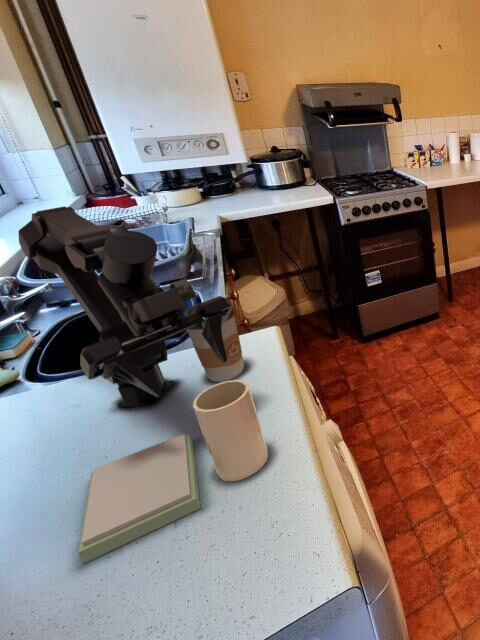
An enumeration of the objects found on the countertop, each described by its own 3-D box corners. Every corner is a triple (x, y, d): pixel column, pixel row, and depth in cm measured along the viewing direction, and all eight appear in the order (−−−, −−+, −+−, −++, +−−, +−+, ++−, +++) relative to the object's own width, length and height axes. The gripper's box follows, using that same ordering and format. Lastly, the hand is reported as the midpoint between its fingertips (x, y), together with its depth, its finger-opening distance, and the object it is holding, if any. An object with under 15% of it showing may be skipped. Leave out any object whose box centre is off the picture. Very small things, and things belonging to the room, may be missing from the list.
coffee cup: (228, 388, 84) (206, 320, 79) (192, 383, 86) (168, 317, 81) (259, 363, 92) (241, 299, 86) (225, 359, 94) (206, 296, 88)
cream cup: (230, 448, 70) (208, 382, 65) (274, 443, 71) (256, 377, 66) (209, 484, 64) (182, 413, 59) (258, 478, 65) (235, 408, 60)
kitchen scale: (96, 480, 65) (89, 466, 64) (193, 442, 72) (188, 428, 71) (84, 563, 54) (75, 548, 53) (200, 508, 60) (194, 493, 59)
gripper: (54, 296, 55) (122, 395, 54) (210, 249, 70) (267, 326, 69) (56, 334, 62) (117, 423, 60) (199, 284, 77) (250, 355, 75)
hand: (194, 378), depth 66 cm, fingers open, 9 cm apart
